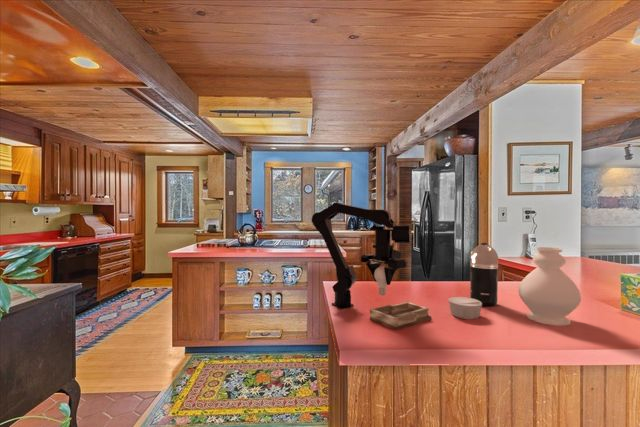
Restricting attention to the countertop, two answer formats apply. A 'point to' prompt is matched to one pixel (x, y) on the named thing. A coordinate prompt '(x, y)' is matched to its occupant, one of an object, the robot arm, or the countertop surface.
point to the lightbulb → (381, 279)
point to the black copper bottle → (484, 275)
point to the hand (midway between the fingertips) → (382, 283)
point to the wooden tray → (399, 315)
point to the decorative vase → (549, 289)
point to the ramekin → (465, 307)
